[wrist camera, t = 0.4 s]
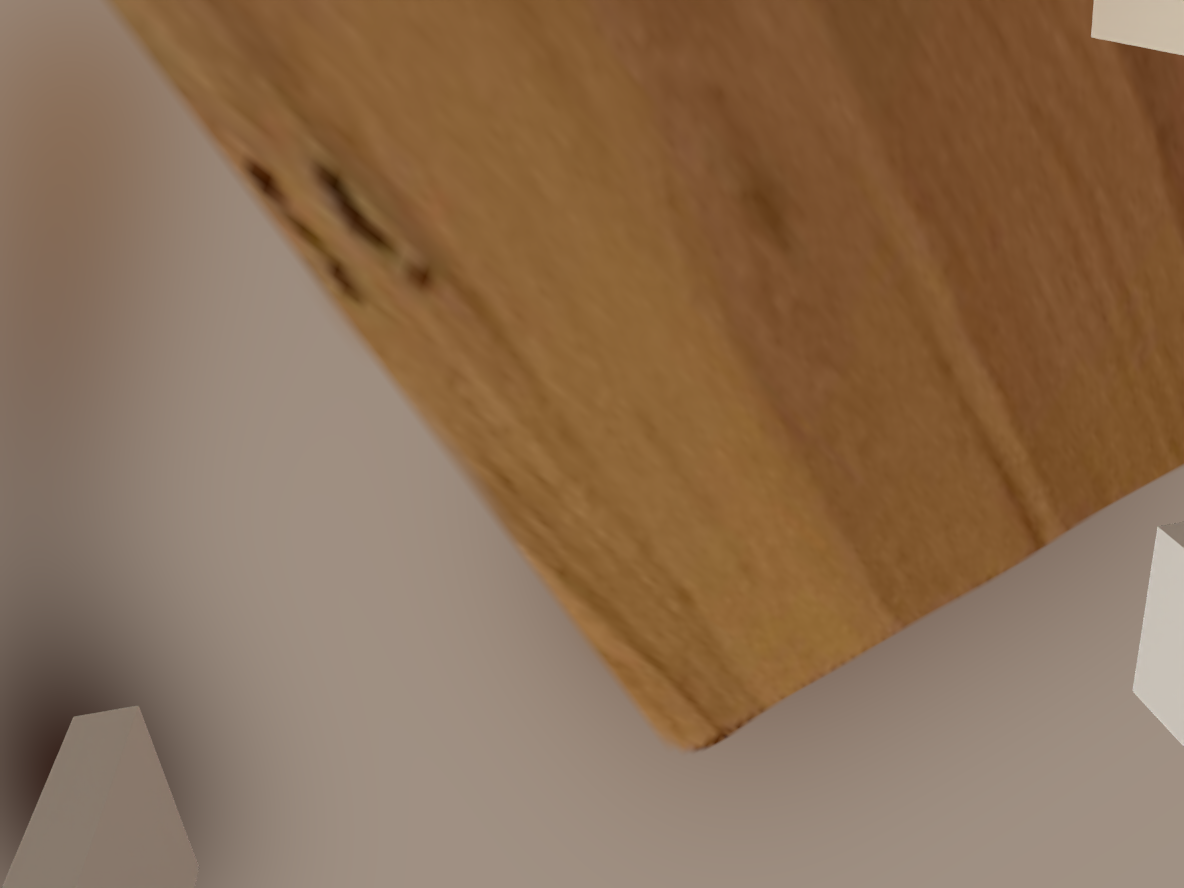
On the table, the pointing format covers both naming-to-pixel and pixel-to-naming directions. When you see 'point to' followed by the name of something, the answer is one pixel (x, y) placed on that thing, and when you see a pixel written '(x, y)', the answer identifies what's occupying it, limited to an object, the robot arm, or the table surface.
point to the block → (1141, 23)
